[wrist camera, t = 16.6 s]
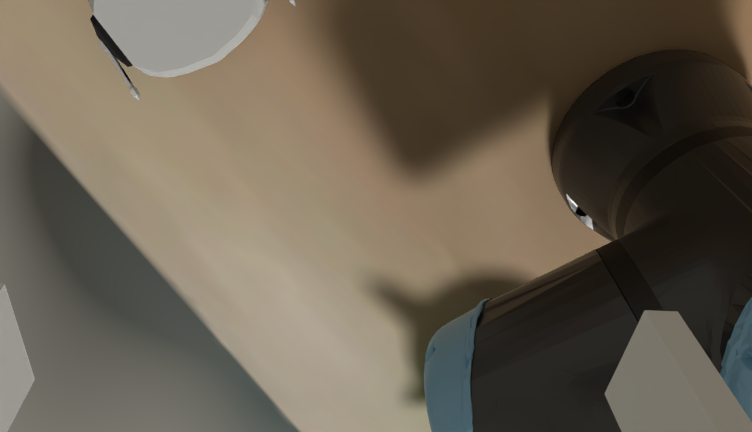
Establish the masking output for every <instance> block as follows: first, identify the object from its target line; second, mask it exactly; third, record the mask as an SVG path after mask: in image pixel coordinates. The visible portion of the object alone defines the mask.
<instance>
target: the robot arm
mask: <svg viewBox="0 0 752 432" xmlns="http://www.w3.org/2000/svg"><path fill="white" fill-rule="evenodd" d="M552 168H553V175H554V179H555V182H556V185H557V187H558V189H559V192H560V193H561V195H562V197H563V198H564V200H565V202H566V204H567V205H568V207H569V209H570V210H571V211H572V212H573V214H574V215H575V216H576V217H577V218H578V219H579V220H580V221H581V222H582V223H584V224H585V225H586V226H588V227H589V228H591V229H593V230H594V231H596V232H597V233H599V234H600V235H602V236H603V237H605V238H606V239H608V240H610V241H611V242H610V243H608V244H606V245H604V246H602V247H600V248H598V249H595V250H593V251H591V252H589V253H587V254H585V255H583V256H581V257H579V258H577V259H575V260H573V261H571V262H569V263H567V264H565V265H563V266H561V267H559V268H557V269H555V270H553V271H551V272H549V273H547V274H544V275H542V276H540V277H538V278H536V279H534V280H532V281H530V282H528V283H526V284H523V285H521V286H519V287H517V288H515V289H513V290H511V291H509V292H507V293H505V294H502V295H500V296H498V297H496V298H494V299H490V298H486V299H484V300H482V301H480V302H479V303H478V304H477V306H476V307H475V308H474V309H472V310H470V311H468V312H466V313H465V314H463V315H461V316H459V317H457V318H456V319H454V320H452V321H450V322H448V323H447V324H445V325H443V326H442V327H441V328H439V329H438V330H437V331H436V333H435V334H434V335H433V337H432V339H431V340H430V342H429V345H428V348H427V352H426V356H425V368H424V391H425V400H426V406H427V413H428V418H429V422H430V427H431V431H432V432H752V86H751V85H750V84H749V82H748V81H747V80H746V79H745V78H744V77H742V76H741V75H740V74H739V73H737V72H736V71H734V70H733V69H731V68H730V67H729V66H727V65H726V64H724V63H723V62H721V61H719V60H718V59H716V58H714V57H711V56H709V55H706V54H703V53H699V52H694V51H685V50H671V51H662V52H656V53H652V54H648V55H645V56H641V57H638V58H636V59H633V60H631V61H628V62H626V63H624V64H622V65H620V66H618V67H616V68H615V69H613V70H611V71H610V72H608V73H607V74H605V75H604V76H602V77H601V78H600V79H598V80H597V81H596V82H595V83H594V84H592V85H591V86H590V87H589V88H588V89H587V90H586V91H585V92H584V93H583V94H582V95H581V96H580V97H579V98H578V100H577V101H576V102H575V103H574V105H573V106H572V107H571V109H570V110H569V112H568V113H567V115H566V117H565V118H564V120H563V122H562V124H561V126H560V128H559V131H558V133H557V136H556V140H555V143H554V148H553V156H552ZM34 380H35V378H34V375H33V372H32V369H31V366H30V362H29V359H28V356H27V353H26V350H25V347H24V344H23V340H22V337H21V334H20V331H19V328H18V325H17V322H16V318H15V315H14V312H13V309H12V306H11V303H10V299H9V296H8V293H7V290H6V287H5V284H0V432H7V431H8V430H9V428H10V426H11V424H12V422H13V420H14V418H15V416H16V414H17V412H18V410H19V408H20V407H21V405H22V403H23V401H24V399H25V397H26V395H27V393H28V391H29V389H30V387H31V386H32V384H33V382H34Z"/></svg>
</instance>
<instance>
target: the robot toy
mask: <svg viewBox="0 0 752 432" xmlns="http://www.w3.org/2000/svg"><path fill="white" fill-rule="evenodd" d="M289 1H290V2H291V3H292V4H293V5H294V6H295V7H296V5H295V0H289ZM89 3H90V6H91V9H92V12H93V15H92V17H91V19H90V20H91V22H92V24H93V26H94V29H95V31H96V34H97V36H98V38H99V39H100V40H101V41H100V42H98V43H99V45H100V46H101V48H102V49H103V51H107V53H108V55H109V56H110V58H111V59H112V61H113V63H114V64H115V66H116V67H117V69H118V71H119V72H120V74H121V75H122V77H123V79H124V80H125V82H126V83H127V85H128V87H129V88H130V92H131V93H132V95H133V96H134V97H135V98H137V99H138V100H140V93H139V92H138V90H137V88H136V87H134V85H133V84H132V82H131V81H130V79H129V77H128V76H127V74H126V73H125V71H124V69H123V68H122V66H121V65H120V63H119V62H118V60H120V61H121V62H122V63H124V64H125V65H126V66H127V67H129V66H134V67H136V68H137V69H139V70H141V71H142V72H144V73H145V74H147V75H149V76H157V77H174V76H178V75H182V74H186V73H190V72H193V71H196V70H198V69H201V68H203V67H206V66H208V65H211V64H214V63H216V62H219V61H220V60H221V59H223V58H224V57H225V56H226V55H227V54H228V53H229V52H231V51H232V50H233V49H234V48H235V47H236V46H238V45H239V44H240V43H241V42H242V41H243V40H244V39H245V38H246V37H247V36H248V35H249V33H250V32H251V31H252V30H253V29H254V28H255V26H256V24H257V23H258V21H259V20H260V18H261V17H262V15H263V14H264V11H265V8H266V6H267V3H268V0H89ZM117 59H118V60H117Z"/></svg>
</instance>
